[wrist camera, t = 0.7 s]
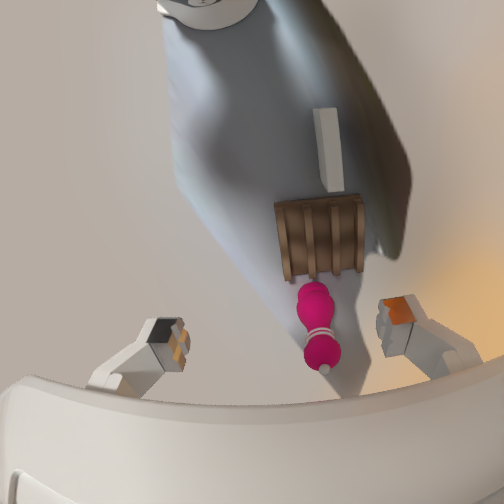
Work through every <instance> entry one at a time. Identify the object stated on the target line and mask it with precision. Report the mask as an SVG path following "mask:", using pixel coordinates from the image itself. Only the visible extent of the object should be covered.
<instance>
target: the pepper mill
mask: <svg viewBox="0 0 504 504" xmlns="http://www.w3.org/2000/svg"><path fill="white" fill-rule="evenodd" d="M297 314H298V317H299V319H300V320H301V322H302V323H303V324H304V325H305V327H306V328H307V330H308V334H307V336H306V347H305V349H304V359H305V362H306V363H307V365H308V366H309V367H310V368H312V369H314V370H317V371H319V372H320V374H322V375H327V374H328V373H329V372H330V369H331V368H333V367H334V366H335V365H336V364H337V363H338V362H339V360H340V356H341V348H340V345H339V344H338V342H337V341H336V339H335V334H334V332H333V331H332V330H331V329H330V323H331V320H332V318H333V315H334V302H333V300H332V298H331V297H330V296H329V292H328V289H327V287H326V286H325V285H324V284H322V283H319V282H311V283H307V284H305V285H304V286H303V287H301V289H300V290H299V292H298V303H297Z"/></svg>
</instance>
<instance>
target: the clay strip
mask: <svg viewBox="0 0 504 504" xmlns="http://www.w3.org/2000/svg"><path fill="white" fill-rule="evenodd" d="M312 111H313V118H314V125H315V133H316V141H317V149H318V158H319V168H320V178H321V182H322V183H323V185H324V186H325V188H326V190H327V191H328V192H338V191H344V179H343V165H342V153H341V142H340V133H339V124H338V115H337V108H313V109H312Z"/></svg>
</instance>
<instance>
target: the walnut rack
mask: <svg viewBox="0 0 504 504" xmlns="http://www.w3.org/2000/svg"><path fill="white" fill-rule="evenodd" d="M274 208H275V215H276V222H277V229H278V236H279V243H280V251H281V258H282V266H283V274H284V278H285V281H292V279H291V275H297V274H306V273H309V279H311V278H316V272H324V271H332V272H333V276H337V275H340V270H341V269H349V268H355V269H356V272H357V273H361V272H363V267H364V235H365V205H364V203H363V202H362V200H361V195H360V194H352V195H341V196H331V197H321V198H311V199H302V200H293V201H284V202H276V203H274Z"/></svg>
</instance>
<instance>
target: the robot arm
mask: <svg viewBox="0 0 504 504" xmlns="http://www.w3.org/2000/svg"><path fill="white" fill-rule="evenodd" d="M156 1H157V2H158V3H157V10H158V12H159V13H160V14H162V15H166V16H172V17H174V18H176V19H177V20H179V21H180V22H181V23H183V24H184V25H186V26H189V27H191V28H195V29H200V30H215V29H221V28H224V27H228V26H230V25H233V24H235V23H237V22H239V21H240V20H242V19H243V18H245V17H246V16H247V15H248V14H249V13H250V12H251V11H252V10H253V8H254V7H255V5H256V3H257V2H258V0H156ZM378 309H379V311H380V313H379V314H378V315H377V320H376V329H377V334H378V337H379V338H380V339H381V340H383V341H382V345H381V346H382V349H383V352H384V354H385V357H392V356H398V355H403V354H404V356H406V357H407V358H408V359H409V360H410V361H411V362H412V363H414V364H415V365H416V366H417V367H418V368H419V369H420V370H421V371H423V372H424V373H425V374H426V375H427V376H428V377H429V378H430V379H431V380H430V381H426V382H422V383H418V384H415V385H411V386H406V387H402V388H398V389H393V390H388V391H383V392H378V393H373V394H368V395H362V396H355V397H349V398H342V399H335V400H327V401H318V402H307V403H297V404H280V405H248V406H247V405H246V406H245V405H243V406H242V405H240V406H236V405H233V406H232V405H201V404H185V403H173V402H163V401H153V400H146V399H140V398H141V397H142V396H143V395H144V394H145V393H146V392H147V391H148V390H149V389H150V388H151V387H152V386H153V384H155V383H156V381H157V380H158V379H159V378H160V377H161V376H162V375H163V374H164V373H165V372H183V369H184V366H185V363H186V359H185V357H184V356H185V355H186V354H188V353H189V350H190V337H189V334H188V332H187V331H186V330H185V329H183V327H184V322H183V320H182V318H180V317H150V318H148V319H147V320H146V322H145V324H144V326H143V328H142V330H141V332H140V334H139V336H138V338H137V340H136V342H135V343H131V344H130V345H128V346H127V347H126V348H124V349H123V350H121V351H120V352H119V353H117V354H116V355H115V356H113V357H112V358H110V359H109V360H108V361H106V362H105V363H103V364H102V365H101V366H99V367H98V368H97V369H95V371H94V373H93V374H92V376H91V378H90V380H89V382H88V384H87V386H86V388H85V389H83V388H79V387H75V386H71V385H67V384H63V383H59V382H56V381H52V380H48V379H45V378H42V377H39V376H36V375H27V376H25V377H23V378H22V379H20V380H18V381H17V382H15V383H14V384H12V385H10V386H9V387H8V388H7V389H5V390H4V391H3V392H2V394H1V395H0V504H504V355H502V356H500V357H497V358H495V359H492V360H490V361H487V362H485V363H483V361H482V359H481V357H480V355H479V353H478V351H477V350H476V348H475V346H474V344H473V343H472V342H470V341H469V340H467V339H465V338H464V337H462V336H460V335H459V334H457V333H455V332H454V331H452V330H450V329H448V328H447V327H445V326H443V325H442V324H440V323H438V322H436V321H435V320H433V319H428V317H427V316H426V314H425V312H424V310H423V308H422V307H421V305H420V303H419V302H418V300H417V298H416V297H415V295H414V294H411V295H406V296H402V297H395V298H389V299H382V300H380V302H379V305H378Z"/></svg>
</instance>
